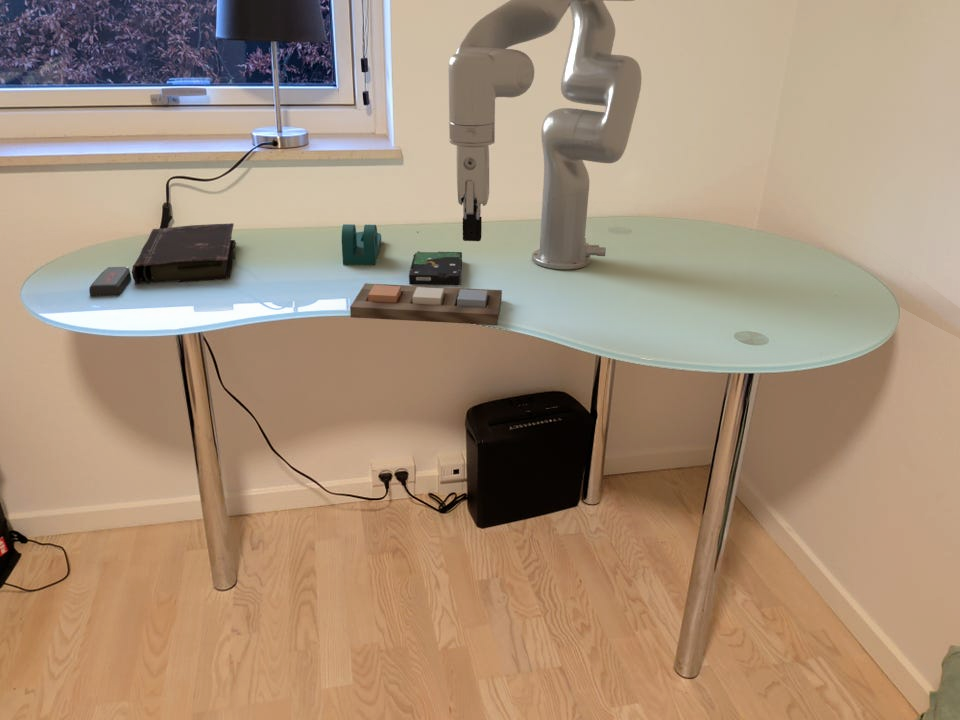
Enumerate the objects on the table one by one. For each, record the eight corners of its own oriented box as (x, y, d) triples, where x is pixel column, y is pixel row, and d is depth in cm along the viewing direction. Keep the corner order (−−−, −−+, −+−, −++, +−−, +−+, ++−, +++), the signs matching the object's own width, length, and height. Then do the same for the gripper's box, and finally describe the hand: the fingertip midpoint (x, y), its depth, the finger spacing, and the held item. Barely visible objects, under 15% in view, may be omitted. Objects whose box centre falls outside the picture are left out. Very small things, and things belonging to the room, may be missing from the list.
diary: (134, 288, 145) (128, 263, 142) (152, 249, 166) (148, 227, 164) (234, 281, 149) (231, 257, 146) (240, 244, 170) (237, 222, 168)
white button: (443, 303, 139) (443, 288, 138) (440, 313, 134) (440, 298, 133) (417, 302, 139) (416, 287, 138) (412, 312, 135) (412, 296, 133)
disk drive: (461, 288, 148) (462, 263, 162) (461, 275, 147) (462, 250, 160) (408, 287, 148) (414, 262, 161) (408, 274, 147) (413, 250, 160)
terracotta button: (401, 301, 139) (400, 286, 138) (396, 311, 135) (395, 296, 134) (374, 300, 140) (374, 284, 138) (368, 310, 135) (368, 294, 134)
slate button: (486, 305, 138) (487, 290, 137) (484, 316, 134) (485, 300, 132) (460, 304, 139) (460, 289, 137) (457, 314, 134) (457, 299, 133)
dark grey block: (90, 298, 139) (87, 284, 137) (108, 277, 149) (105, 263, 148) (120, 297, 140) (117, 283, 138) (135, 276, 150) (133, 263, 149)
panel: (501, 300, 141) (501, 290, 140) (497, 325, 131) (497, 314, 130) (365, 293, 143) (365, 283, 142) (350, 317, 132) (350, 306, 131)
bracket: (375, 266, 158) (373, 229, 154) (343, 266, 158) (340, 229, 154) (382, 240, 174) (381, 207, 171) (353, 240, 174) (351, 207, 170)
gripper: (492, 142, 117) (490, 254, 126) (496, 125, 131) (495, 227, 139) (444, 141, 118) (446, 253, 126) (454, 124, 131) (455, 226, 140)
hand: (472, 239), depth 133 cm, fingers closed
